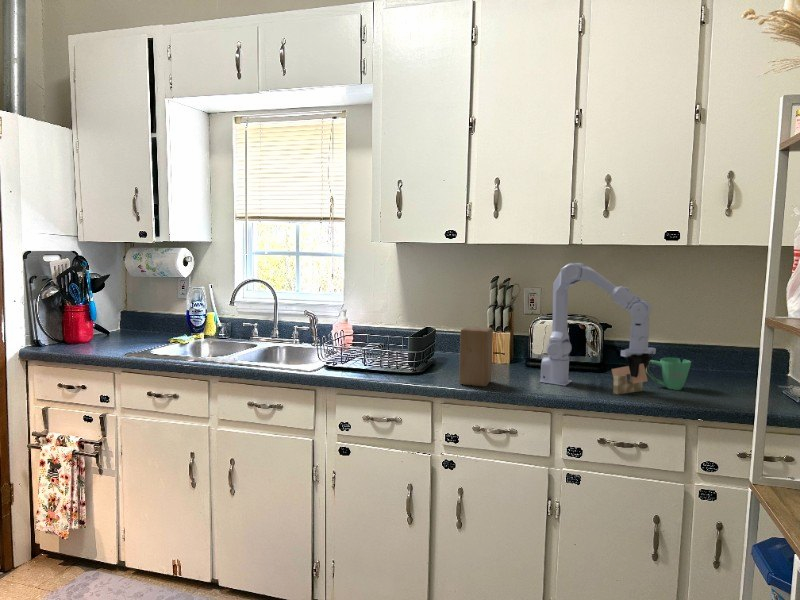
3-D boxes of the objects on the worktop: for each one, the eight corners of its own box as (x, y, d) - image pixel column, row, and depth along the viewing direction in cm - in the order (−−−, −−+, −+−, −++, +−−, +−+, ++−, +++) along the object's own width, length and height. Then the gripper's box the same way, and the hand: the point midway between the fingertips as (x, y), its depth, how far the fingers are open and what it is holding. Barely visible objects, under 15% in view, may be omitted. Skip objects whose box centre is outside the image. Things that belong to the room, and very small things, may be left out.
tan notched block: (617, 394, 190) (618, 376, 190) (613, 393, 192) (613, 375, 191) (642, 390, 196) (643, 373, 195) (637, 389, 197) (638, 372, 197)
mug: (686, 386, 203) (688, 358, 202) (691, 392, 194) (693, 364, 193) (642, 382, 208) (644, 355, 207) (645, 389, 198) (647, 360, 197)
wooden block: (458, 384, 200) (459, 329, 198) (465, 378, 210) (466, 325, 208) (486, 387, 197) (487, 330, 195) (491, 381, 206) (493, 327, 204)
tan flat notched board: (647, 381, 188) (643, 363, 189) (642, 381, 187) (638, 363, 188) (620, 385, 198) (616, 368, 199) (615, 386, 197) (611, 369, 198)
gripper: (633, 339, 182) (631, 380, 183) (664, 336, 189) (662, 376, 190) (616, 336, 188) (614, 376, 190) (646, 333, 195) (644, 372, 196)
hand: (637, 376), depth 190 cm, fingers closed on tan flat notched board, 2 cm apart
